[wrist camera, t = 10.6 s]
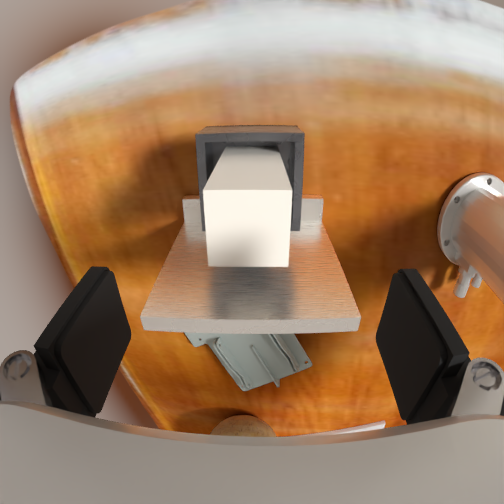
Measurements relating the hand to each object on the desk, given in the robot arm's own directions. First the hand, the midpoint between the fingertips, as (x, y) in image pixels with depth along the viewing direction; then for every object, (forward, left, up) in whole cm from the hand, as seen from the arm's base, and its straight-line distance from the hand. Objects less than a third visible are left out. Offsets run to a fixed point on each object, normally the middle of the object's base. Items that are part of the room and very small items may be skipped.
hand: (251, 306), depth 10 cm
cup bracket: (-3, 0, -23) cm, 23 cm away
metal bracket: (-24, 0, -23) cm, 33 cm away
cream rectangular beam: (0, 0, -17) cm, 17 cm away
